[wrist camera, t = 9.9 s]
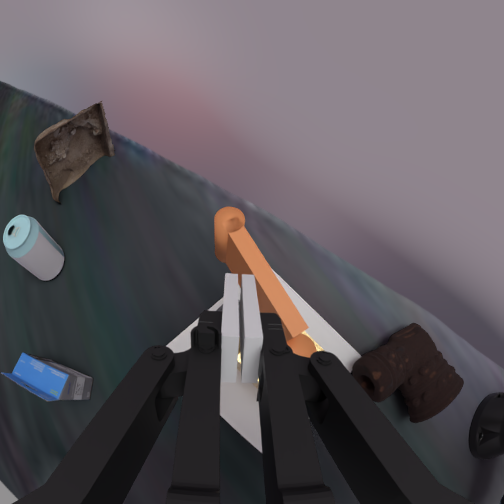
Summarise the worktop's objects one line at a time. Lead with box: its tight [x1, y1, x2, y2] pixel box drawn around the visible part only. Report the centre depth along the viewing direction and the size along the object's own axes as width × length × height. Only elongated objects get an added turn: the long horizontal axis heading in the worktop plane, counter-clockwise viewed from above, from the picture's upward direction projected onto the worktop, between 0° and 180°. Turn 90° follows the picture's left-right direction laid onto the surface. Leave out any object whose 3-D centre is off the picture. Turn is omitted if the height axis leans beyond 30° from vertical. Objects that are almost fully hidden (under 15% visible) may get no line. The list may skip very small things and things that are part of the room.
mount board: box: [166, 270, 361, 453], centre depth 41 cm, size 22×21×1 cm
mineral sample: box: [34, 101, 115, 202], centre depth 45 cm, size 17×4×15 cm, turn 143°
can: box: [3, 215, 64, 281], centre depth 38 cm, size 7×7×12 cm
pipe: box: [352, 323, 464, 423], centre depth 37 cm, size 10×15×15 cm
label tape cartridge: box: [2, 352, 93, 401], centre depth 30 cm, size 9×4×12 cm, turn 80°
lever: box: [215, 207, 317, 358], centre depth 28 cm, size 17×4×7 cm, turn 30°
